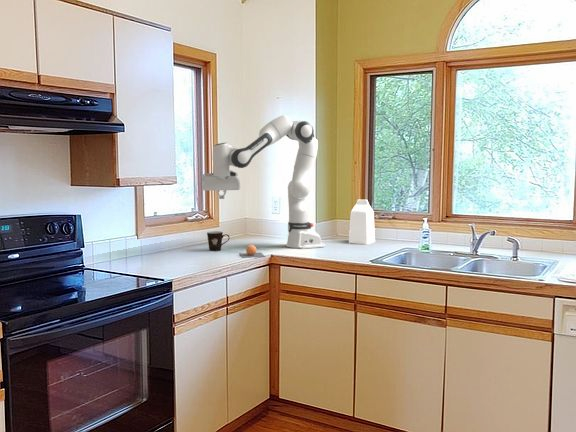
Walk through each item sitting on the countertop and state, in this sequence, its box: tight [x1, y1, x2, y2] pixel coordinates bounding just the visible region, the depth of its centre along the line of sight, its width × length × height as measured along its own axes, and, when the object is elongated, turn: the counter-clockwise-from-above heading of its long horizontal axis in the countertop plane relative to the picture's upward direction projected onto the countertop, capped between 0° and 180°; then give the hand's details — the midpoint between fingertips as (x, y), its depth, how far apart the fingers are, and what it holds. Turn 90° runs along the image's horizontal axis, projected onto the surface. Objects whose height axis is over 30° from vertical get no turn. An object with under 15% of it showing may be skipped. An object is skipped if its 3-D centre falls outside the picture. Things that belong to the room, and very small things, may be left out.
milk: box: [348, 199, 376, 245], centre depth 330 cm, size 12×12×26 cm
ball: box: [245, 244, 257, 255], centre depth 288 cm, size 6×6×6 cm
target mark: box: [239, 252, 266, 259], centre depth 289 cm, size 12×12×1 cm
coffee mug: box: [206, 230, 230, 252], centre depth 304 cm, size 12×9×10 cm
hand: (221, 198), depth 296 cm, fingers closed
